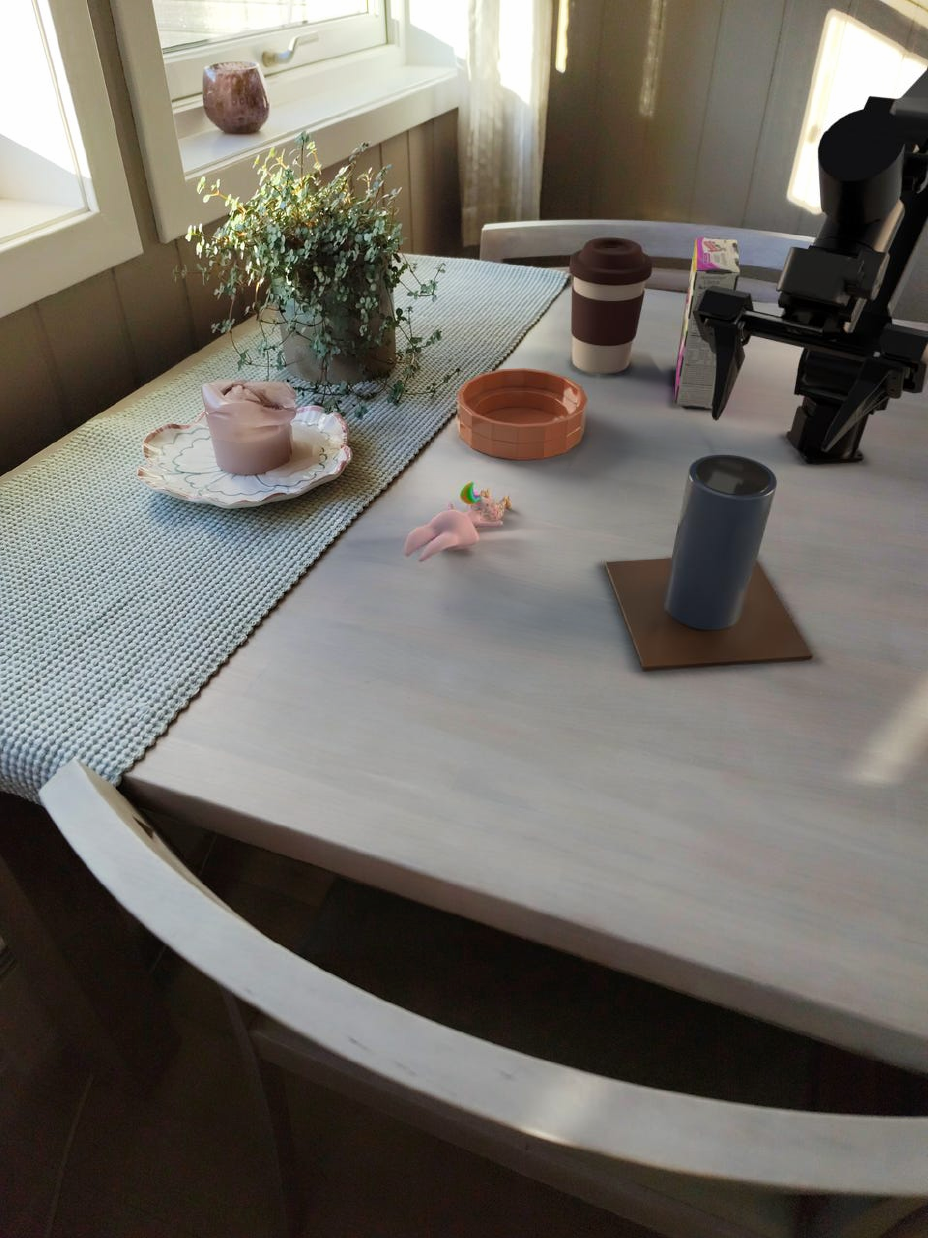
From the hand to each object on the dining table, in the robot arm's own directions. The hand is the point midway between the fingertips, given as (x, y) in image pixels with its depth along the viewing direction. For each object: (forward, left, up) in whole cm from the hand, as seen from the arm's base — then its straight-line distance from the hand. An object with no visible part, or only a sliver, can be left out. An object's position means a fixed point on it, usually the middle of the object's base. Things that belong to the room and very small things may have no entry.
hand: (767, 433), depth 71 cm
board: (+5, +6, -14) cm, 16 cm away
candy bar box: (-7, -36, -14) cm, 39 cm away
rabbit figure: (+25, -6, -14) cm, 29 cm away
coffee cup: (+3, -44, -14) cm, 46 cm away
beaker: (+5, +6, -13) cm, 15 cm away
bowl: (+16, -27, -14) cm, 34 cm away
